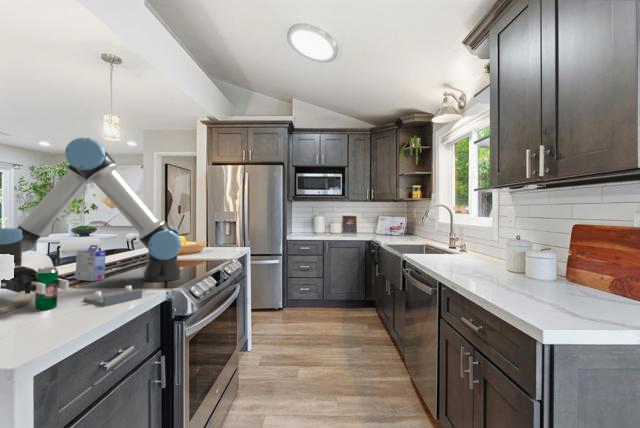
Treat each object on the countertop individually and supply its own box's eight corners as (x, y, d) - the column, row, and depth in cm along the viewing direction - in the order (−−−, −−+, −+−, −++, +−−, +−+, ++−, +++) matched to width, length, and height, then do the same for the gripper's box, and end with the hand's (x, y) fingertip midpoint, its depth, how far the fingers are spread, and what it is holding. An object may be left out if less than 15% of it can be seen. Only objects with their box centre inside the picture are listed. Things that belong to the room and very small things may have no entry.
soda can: (47, 311, 93) (48, 270, 93) (30, 310, 93) (31, 269, 93) (61, 306, 98) (62, 267, 98) (45, 305, 98) (46, 266, 98)
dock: (120, 293, 115) (120, 283, 115) (141, 298, 110) (142, 287, 110) (83, 300, 105) (83, 290, 105) (104, 306, 99) (105, 295, 99)
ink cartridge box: (105, 279, 138) (106, 245, 138) (94, 281, 133) (95, 246, 133) (86, 277, 140) (87, 244, 140) (74, 280, 135) (75, 245, 135)
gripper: (52, 284, 112) (89, 293, 101) (-21, 295, 96) (15, 307, 85) (52, 263, 112) (90, 270, 101) (-20, 270, 96) (15, 279, 85)
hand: (55, 287), depth 93 cm, fingers closed on soda can, 5 cm apart
